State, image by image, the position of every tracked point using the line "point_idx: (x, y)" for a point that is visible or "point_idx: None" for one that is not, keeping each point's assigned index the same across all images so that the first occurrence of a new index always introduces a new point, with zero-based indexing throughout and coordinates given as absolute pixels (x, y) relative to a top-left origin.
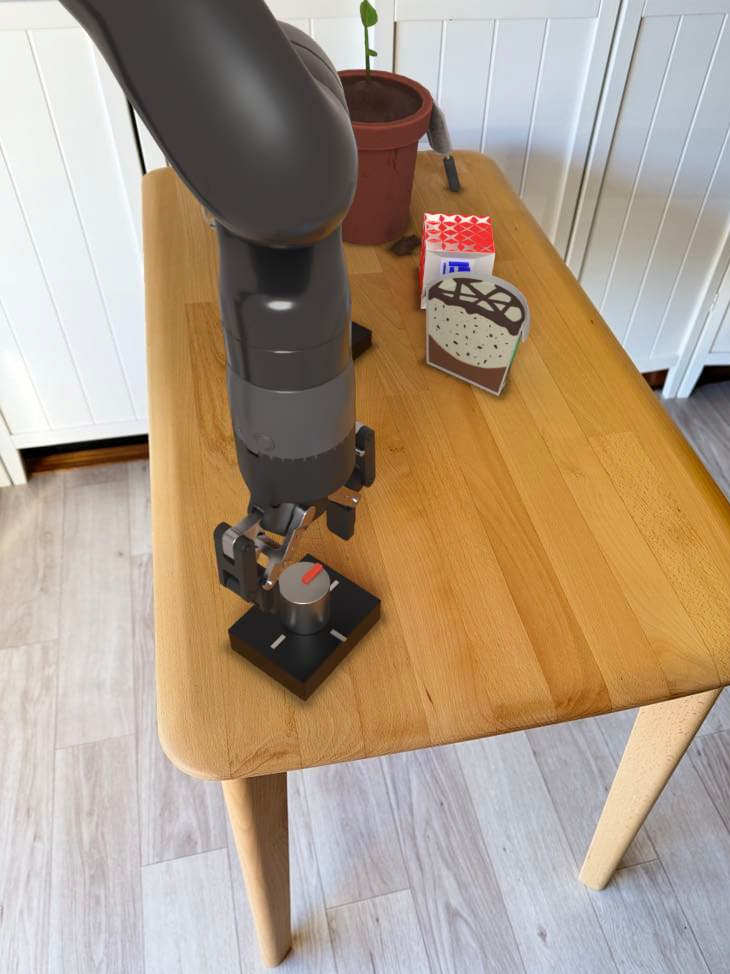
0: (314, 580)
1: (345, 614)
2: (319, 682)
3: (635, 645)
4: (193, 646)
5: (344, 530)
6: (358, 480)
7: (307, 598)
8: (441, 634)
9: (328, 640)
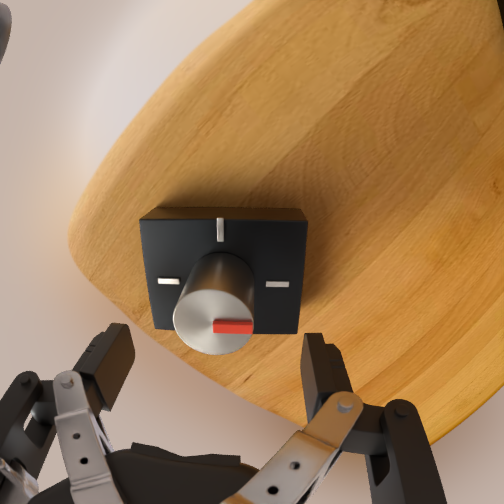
0: (225, 334)
1: (254, 316)
2: None
3: None
4: (129, 171)
5: (303, 378)
6: (365, 453)
7: (194, 343)
8: None
9: None
